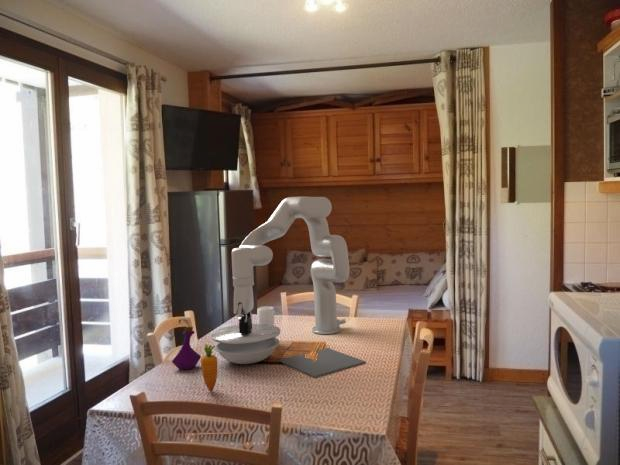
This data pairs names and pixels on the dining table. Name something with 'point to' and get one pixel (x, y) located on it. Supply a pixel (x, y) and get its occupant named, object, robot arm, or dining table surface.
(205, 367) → the carrot
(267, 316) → the drinking glass
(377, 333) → the dining table surface
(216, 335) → the lid
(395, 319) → the dining table surface
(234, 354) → the soup bowl
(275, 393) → the dining table surface
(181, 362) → the perfume bottle
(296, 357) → the mat
